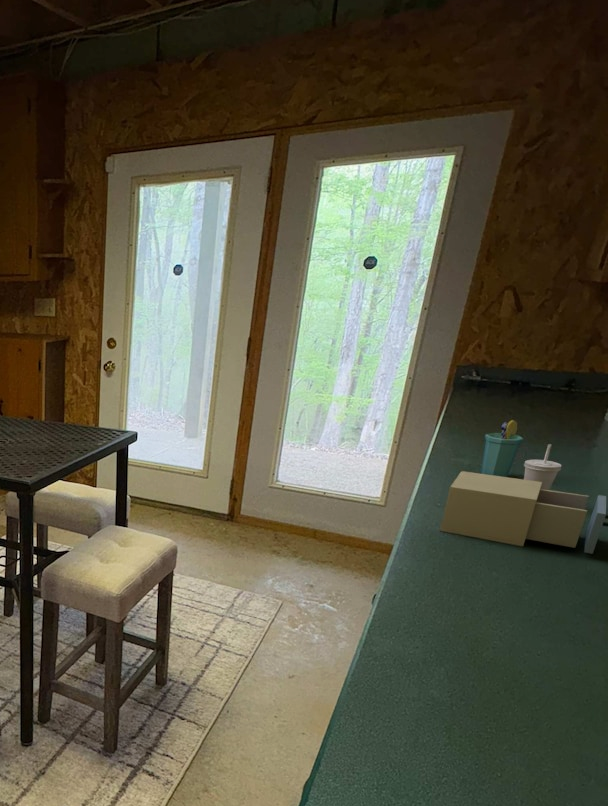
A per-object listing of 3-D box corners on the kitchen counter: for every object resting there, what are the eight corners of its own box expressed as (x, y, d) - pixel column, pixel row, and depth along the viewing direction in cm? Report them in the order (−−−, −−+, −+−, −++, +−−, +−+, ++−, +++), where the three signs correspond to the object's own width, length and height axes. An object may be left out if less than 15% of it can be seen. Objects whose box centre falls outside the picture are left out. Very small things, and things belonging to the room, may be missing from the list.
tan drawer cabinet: (529, 526, 129) (542, 482, 126) (523, 546, 120) (536, 499, 116) (451, 512, 138) (461, 471, 134) (439, 530, 128) (450, 486, 125)
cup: (507, 487, 152) (524, 426, 147) (469, 481, 157) (484, 422, 152) (515, 474, 162) (531, 416, 156) (479, 469, 167) (493, 413, 161)
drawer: (628, 539, 119) (641, 501, 116) (629, 560, 111) (644, 519, 108) (514, 520, 130) (524, 484, 127) (507, 538, 122) (517, 500, 119)
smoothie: (519, 508, 139) (537, 446, 134) (508, 498, 145) (525, 439, 140) (554, 510, 137) (573, 448, 132) (542, 500, 143) (559, 441, 138)
